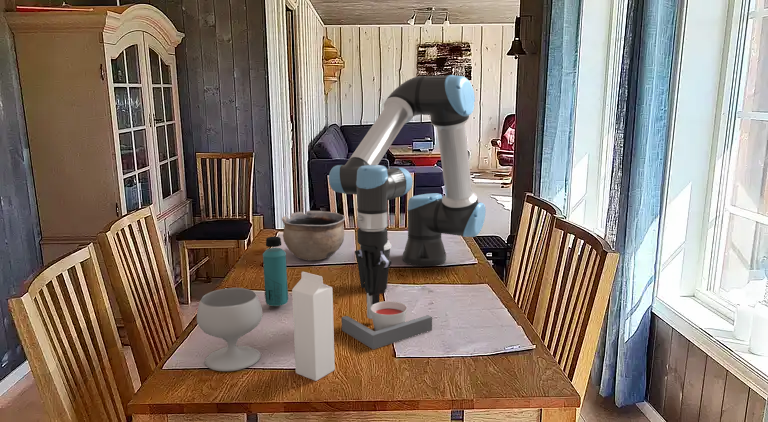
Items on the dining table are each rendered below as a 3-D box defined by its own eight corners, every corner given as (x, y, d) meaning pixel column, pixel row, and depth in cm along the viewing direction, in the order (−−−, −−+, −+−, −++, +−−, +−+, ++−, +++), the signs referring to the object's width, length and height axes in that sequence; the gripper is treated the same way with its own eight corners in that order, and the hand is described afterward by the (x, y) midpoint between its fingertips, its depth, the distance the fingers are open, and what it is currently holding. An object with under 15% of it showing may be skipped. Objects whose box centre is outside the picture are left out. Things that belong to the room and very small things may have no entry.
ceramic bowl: (313, 246, 222) (312, 207, 219) (358, 255, 209) (357, 214, 206) (271, 260, 204) (268, 218, 201) (316, 271, 192) (315, 227, 189)
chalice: (208, 347, 136) (203, 286, 133) (268, 345, 137) (265, 284, 134) (193, 376, 123) (187, 309, 119) (260, 373, 124) (256, 307, 120)
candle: (380, 342, 138) (380, 317, 137) (364, 328, 146) (364, 305, 145) (413, 334, 142) (413, 310, 141) (396, 322, 150) (396, 298, 149)
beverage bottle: (293, 304, 163) (290, 235, 158) (281, 312, 157) (278, 241, 152) (272, 301, 165) (269, 233, 161) (260, 310, 159) (256, 239, 154)
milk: (314, 363, 128) (311, 267, 124) (335, 370, 125) (332, 272, 120) (295, 373, 123) (290, 274, 119) (315, 381, 120) (312, 280, 115)
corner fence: (398, 313, 155) (398, 301, 155) (432, 330, 145) (432, 317, 144) (341, 330, 145) (341, 317, 144) (373, 349, 134) (372, 335, 134)
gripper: (345, 225, 147) (347, 312, 152) (375, 235, 137) (375, 328, 142) (369, 221, 151) (370, 306, 156) (400, 230, 141) (400, 321, 146)
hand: (373, 316), depth 149 cm, fingers closed
